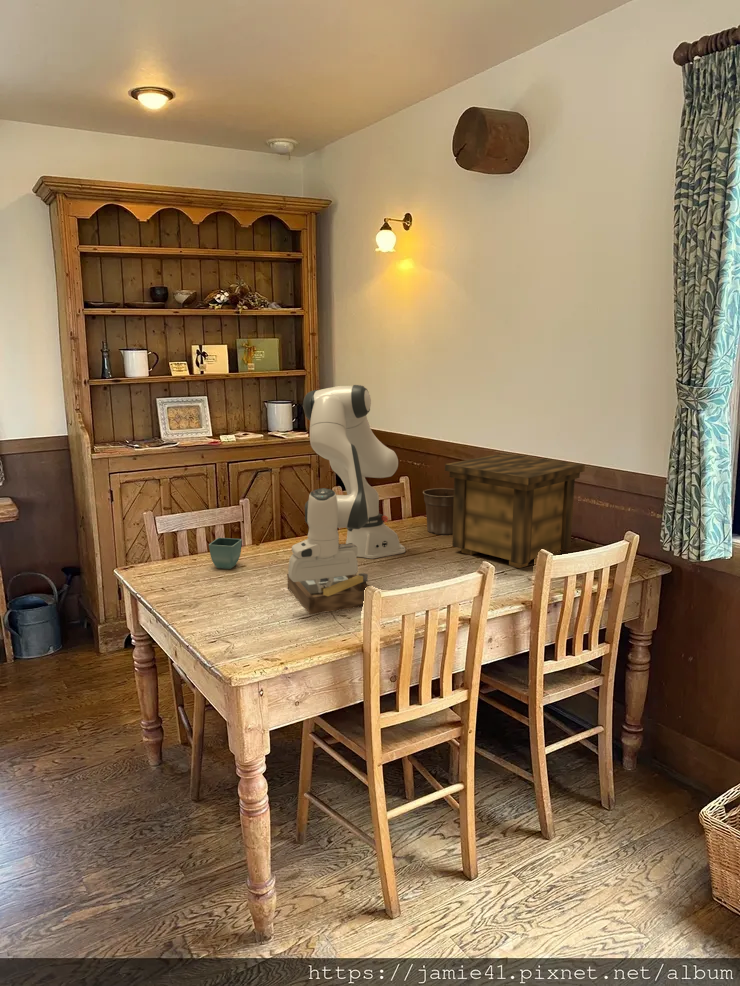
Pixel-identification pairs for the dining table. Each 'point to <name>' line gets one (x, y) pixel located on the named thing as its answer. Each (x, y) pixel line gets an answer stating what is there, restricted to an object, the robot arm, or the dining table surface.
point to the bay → (328, 597)
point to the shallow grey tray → (312, 586)
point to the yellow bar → (345, 584)
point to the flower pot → (225, 552)
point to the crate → (513, 506)
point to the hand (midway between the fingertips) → (323, 592)
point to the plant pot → (439, 510)
